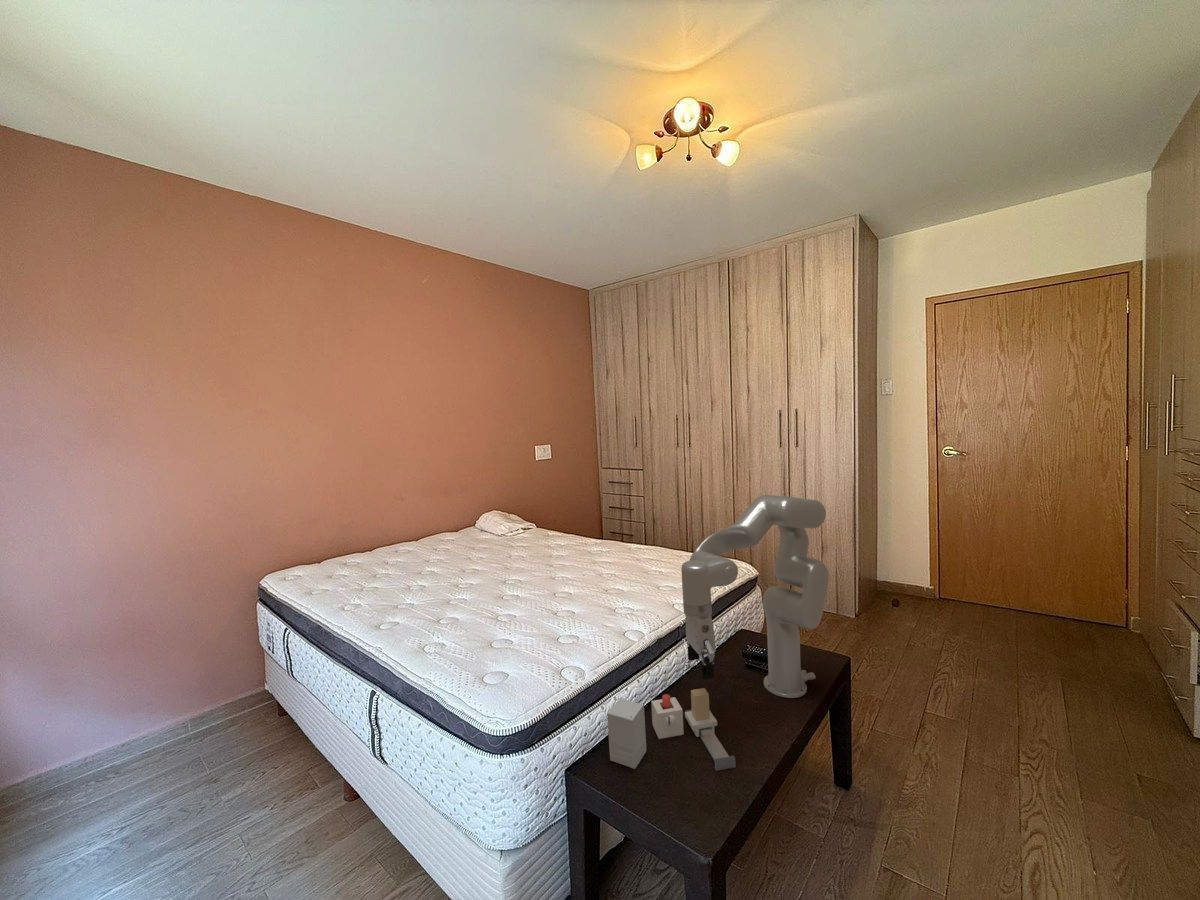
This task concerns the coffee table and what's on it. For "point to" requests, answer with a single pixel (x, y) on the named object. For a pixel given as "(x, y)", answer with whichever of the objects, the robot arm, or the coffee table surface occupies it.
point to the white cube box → (667, 719)
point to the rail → (716, 749)
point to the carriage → (700, 712)
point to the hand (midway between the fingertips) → (700, 668)
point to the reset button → (666, 701)
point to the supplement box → (626, 732)
